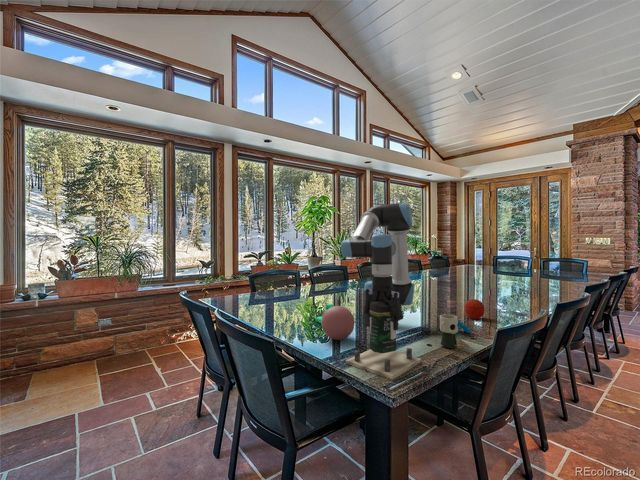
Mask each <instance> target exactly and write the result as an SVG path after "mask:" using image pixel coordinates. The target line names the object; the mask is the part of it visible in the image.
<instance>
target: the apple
mask: <svg viewBox="0 0 640 480" xmlns="http://www.w3.org/2000/svg"><path fill="white" fill-rule="evenodd" d="M464 311H465V314H466V316H467V317H468V318H469V319H471V320H479V319H481V318H483V316H484V315H485V305H484V304H483V302H482V301H480V300H479V299H475V297H474V299H473V298H472V299H469V300H467V301H466V303H465V304H464Z"/></svg>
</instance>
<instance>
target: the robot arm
mask: <svg viewBox="0 0 640 480" xmlns="http://www.w3.org/2000/svg"><path fill="white" fill-rule="evenodd" d="M413 224H414V221H413V215H412V209H411V206H410V205H409V203H405V202H404V203H402V202H400V203H388V204H386V203H385V204H377V205H373V206H371V207H369V208H368V209H367V210H365V211H364V212H363V213H362V214H361V216H360V218H359V224H358V225H357V228H356V229H355V230H354V233H353V234H352V236H351V237H350V239H349V238H348V239H344V240H342V242H341V244H340V252H341V255H342V257H343V258H347V259H348V258H350V259H356V258H361V259H364V258H365V259H366V258H367V259H368V258H369V259H370V258H371V274H372V275H373V276H371V280H369V281H366V282H365V283H364V288H363V292H364V309H363V312H362V316H361V324H363V325H366V326H369V332H370V333H369V334H370V335H371V314H370V303H371V302H374V301H384V302H385V303H386V304H387V305H388V306H389V308H390V315H391V318H392V321H390V322H391V339H392V340H393V339H395V338H396V339H397V331H398V329H399V321H401V320H403V319H404V313H403V310H402V309H403V308H402V306H411V305H413V300H414V295H415V287H416V286H415V283H412V282H413V281H412V279H411V278H410V277H409V255H408V254H409V253H408V250H409V249H408V232H409V231H410V230H411V227H413ZM377 228H386V231H387V232H388V234H386V233H385V234H383V233H382V234H373V233H374V231H375V229H377ZM372 234H373V235H372ZM392 301H393V302H394V306H395V308H394V307H392V305H393V302H392Z"/></svg>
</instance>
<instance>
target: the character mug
mask: <svg viewBox="0 0 640 480" xmlns="http://www.w3.org/2000/svg"><path fill="white" fill-rule="evenodd" d="M457 324H458V316H457V315H454V314H445V313H444V314H440V315H439V330H440V332H442V334H441V341H440V342H441V343H440V345H441V346H442V347H446V348H447V349H448V348H449V349H455V348H456V347H458V344H457V338H456V336H457V335H456V334H457V333H458V332H459V331H458V327H457ZM457 331H458V332H457Z"/></svg>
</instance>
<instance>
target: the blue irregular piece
mask: <svg viewBox="0 0 640 480" xmlns="http://www.w3.org/2000/svg"><path fill="white" fill-rule="evenodd" d="M457 327H458V331H457V333H459V331H460V330H462V331H464V332H466V333H468V334H471V333H472V330H471V328H469V326H468V325H466V324H465V323H464V322H463V321H460V319H458V324H457Z"/></svg>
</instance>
